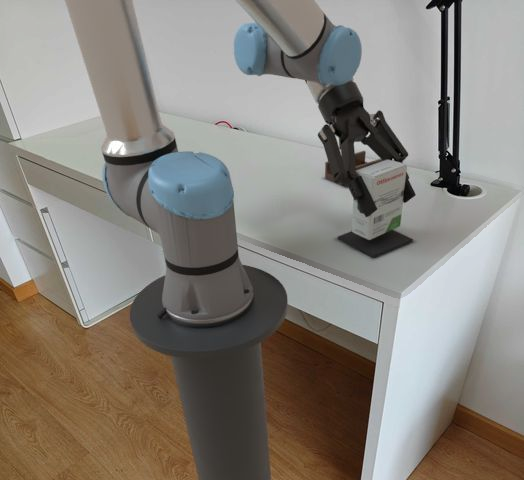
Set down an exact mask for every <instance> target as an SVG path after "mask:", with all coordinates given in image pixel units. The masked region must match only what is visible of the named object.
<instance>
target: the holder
mask: <svg viewBox="0 0 524 480" xmlns="http://www.w3.org/2000/svg"><path fill="white" fill-rule="evenodd" d="M366 153H367V152H366V150H362V151H359V152H355V165H356V170H359V169H362V168H365V167H367V166H370V165H373V164H376V163H379V162H381V161H383V160H382V159H381V158H378V159H375V160H371V161H366ZM324 164H325V165H324V179H326V180H328V181H329V182H333V183H335V182H334V180H333V176H332V173H331V169H330V166H329V162H328V161H325V163H324ZM338 185H340V186H342V185H341V183H339V184H338ZM345 188H348V186H346V187H345Z"/></svg>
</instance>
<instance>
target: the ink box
mask: <svg viewBox="0 0 524 480" xmlns="http://www.w3.org/2000/svg"><path fill="white" fill-rule="evenodd" d="M392 160H393V159H392ZM392 160H384V161H381V162H379V163H376V164H373V165H370V166H367V167H365V168H362V169H359V170H356V178H357V177H358V176H362V179H363V181H364V183H365V185H366V187H367V189H368V191H369V193H370V195H371V197H372V199H373V201H374V203H375V205H376V207H377V210H376V211H375V212H374V213H372V214H371V215H370V216H368V217H365V215H364V213H363V211H362V208H361V206H360V204H359V202H358V200H355V199H354V198H353V197H352V199H353V200H352V217H351V218H352V219H351V221H352V222H351V231H352V232H353V233H355V234H357V235H359V236H362V237H364V238H366V239H368V240H371V239H373V238H375V237H378V236H380V235H382V234H384V233H386V232H388V231H391V230H395V229H397V228H399V227H401V222H402V213H403V206H404V205H403V204H404V202H403V197H404V188H405V179H406V172H407V169H408V165H407V164H406V163H404V162H403V163H400V162H396V161H394V160H393V161H392Z"/></svg>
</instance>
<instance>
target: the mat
mask: <svg viewBox="0 0 524 480" xmlns="http://www.w3.org/2000/svg"><path fill="white" fill-rule="evenodd" d="M337 240H338V241H340V242H342V243H344V244H346V245H347V246H350V247H352V248H354V249H356V250H357V251H359V252H361V253H363V254H365V255H367V256H369V257H370V258H372V259H376V258H378V257H380V256H383V255H385V254H387V253H390V252H392V251H394V250H397V249H399V248H401V247H404V246H407V245H409V244H411V243H413V241H414V238H412V237H409V236H407V235H405V234H403V233H400V232H398V231H396V230H395V229H393V230H391V231H388V232H386V233H384V234H382V235H380V236H378V237H375V238H373V239H371V240H368V239H366V238H364V237H362V236H359V235H357V234H355V233H353V232H352V230H351V231H348V232H346V233H342V234H341V235H337Z"/></svg>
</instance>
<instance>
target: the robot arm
mask: <svg viewBox="0 0 524 480" xmlns="http://www.w3.org/2000/svg"><path fill="white" fill-rule="evenodd" d="M133 1H134V0H64V2H65V5H66V9H67V11H68V14H69V18H70V22H71V25H72V28H73V30H74V31H73V32H74V34H75V37H76V40H77V44H78V47H79V50H80V54H81V57H82V60H83V63H84V66H85V69H86V72H87V75H88V79H89V81H90V85H91V88H92V92H93V94H94V98H95V101H96V105H97V108H98V110H99V114H100V117H101V120H102V122H103V123H102V124H103V127H104V130H105V133H106V137H105V138H104V140H103V142H102V144H101V146H100V150H101V154H102V156H103V160H104V165H103V166H102V171H101V172H102V176H101V177H102V183H103V188H104V191H105V193H106V194H107V196H108V198H109V199H110V201H111V202H112V203H113V205H114V206H115V207H117V208H118V209H119V210H120V211H121V212H122V213H123V214H125V215H126V216H128V217H130V218H132V219H134V220H136V221H137V222H140V224H142V225H144V226H145V227H147V228H148V229H151V230H152V231H153V232H155V233H157V234H158V235H159V237H160V243H161V248H162V253H163V256H164V257H163V258H164V260H165V261H164V262H165V266H166V267H165V268H166V269H165V274H164V275H165V281H164V288H163V294H162V303H163V309H162V310H161V311H160V312H159V313H158V314H157V315H156V316H157V317H158V318H159V319H161V318H162V317H163V316H164V315H165V314H166V316H167V317H168V318H169V319H170V320H171V321H173V322H175V323H177V324H179V325H182V326H185V327H191V328H212V327H218V326H222V325H225V324H228V323H231V322H233V321H235V320H237V319H239V318H241V317H242V316H243V315H245V314H246V313H247V312H248V311H249V310H250V308H251V307H252V305H253V301H254V297H253V288H252V285H251V282H250V280H249V278H248V276H247V274H246V272H245V270H244V267H243V265H244V264H243V263H242V261H241V259H240V256H239V255H240V254H239V246H238V244H239V243H238V234H237V223H236V214H235V205H234V204H235V202H234V201H235V200H234V197H235V191H234V187H233V184H232V183H233V182H232V178H231V174H230V171H229V168H228V167H227V166H226V164H225V163H224V162H223V160H221V159H219V158H218V157H216V156H214V155H212V154H209V153H205V152H200V151H199V152H194V151H189V150H187V151H183V150H182V151H179V148H178V144H177V140H176V135H175V133H174V131H173V130H172V129H170V128H169V127H167V126H165V124H163V122H162V119H161V115H160V110H159V106H158V102H157V98H156V94H155V89H154V86H153V81H152V77H151V73H150V68H149V65H148V60H147V55H146V52H145V48H144V43H143V39H142V35H141V31H140V26H139V22H138V17H137V14H136V10H135V5H134V2H133ZM235 2H236V3H237V4H238V5H239V6H240V7H241V8H242V9H243V11H245V12H246V13H247V15H248V16H249V17H250V18H251V19H252V20H253V21H254V22H247V23H243V24H242V25H241V26H240V27H239V28H238V29H237V31H236V33H235V35H234V39H233V56H234V60H235V64H236V66H237V67H238V69H239V70H240V72H241V73H242V74H244V75H246V76H257V77H262V76H264V75H273V76H278V77H284V78H289V79H297V80H302V81H305V84H306V85H307V88H308V90H309V91H310V94H311V96H312V98H313V99H314V102H315V103H316V104H317V108H318V110H319V112H320V114H321V117H322V118H323V120H324V122H325V124H323V126H322V127H321V129H320V130H319V131H318V133H317V137H318V139H319V141H320V142H321V144H322V145H323V149H324V153H325V156H326V159H327V162H329V166H330V169H331V173H332V176H333V180H334V182H333V183H335V184H336V185H339V183H341V185H340V186H342V187H344V188H348V190H349V192H350V194H351V197H352V199H353V198H354V199H355V200H358V202H359V204H360V206H361V208H362V211H363V213H364V215H365V217H368V216H370V215H371V214H372V213H374V212H375V211H376V210H377V207H376V205H375V203H374V201H373V199H372V197H371V195H370V193H369V191H368V189H367V187H366V185H365V183H364V181H363V179H362V176H358V177H357V178H356V165H355V153H356V151H355V143H362V145H364V146H367V147H368V148H370V149H371V151H372V152H374V154H375V155H376V156H378V157H379V159H382V160H383V161H384V160H392V161H396V162H400V163H404V161H405V160H406V159H407V158H408V157H409V152H408V151H407V149H406V148H405V146H404V145H403V144H402V142H401V141H400V140H399V138H398V137H397V135H396V134H395V132H394V131H393V129H392V128H391V126H390V125H389V123H388V122H387V121H386V118H385V115H384V113H383V111H382V110H379V109H378V110H377V112H376V113H369V112H368V111H367V110H366V109H365V107H364V97H363V95H362V93H361V91H360V89H359V87H358V84H357V83H356V81H354V76H355V75H356V73H357V71H358V69H359V67H360V64H361V61H362V54H363V47H362V46H363V45H362V41H361V37H360V36H359V34H358V33H357V32H356V30H354V29H352V28H350V27H345V26H344V25H340V24H339V25H336V24H335V25H334V23H332V21H331V19H329V17H328V16H327V15H326V14H325V12H324V11H323V10H322V9H321V7H320V6H319V4H318V3H317V2H316V0H235ZM337 139H338V140H337ZM346 186H348V187H346ZM416 195H417V194H416V192H415V190H414V188H413V185H412V184H411V181H410V176H409V174H408V171H406V179H405V188H404V197H403V204H406V203H408V202H409V201H410V200H412V199H413V198H414V197H416Z"/></svg>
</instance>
